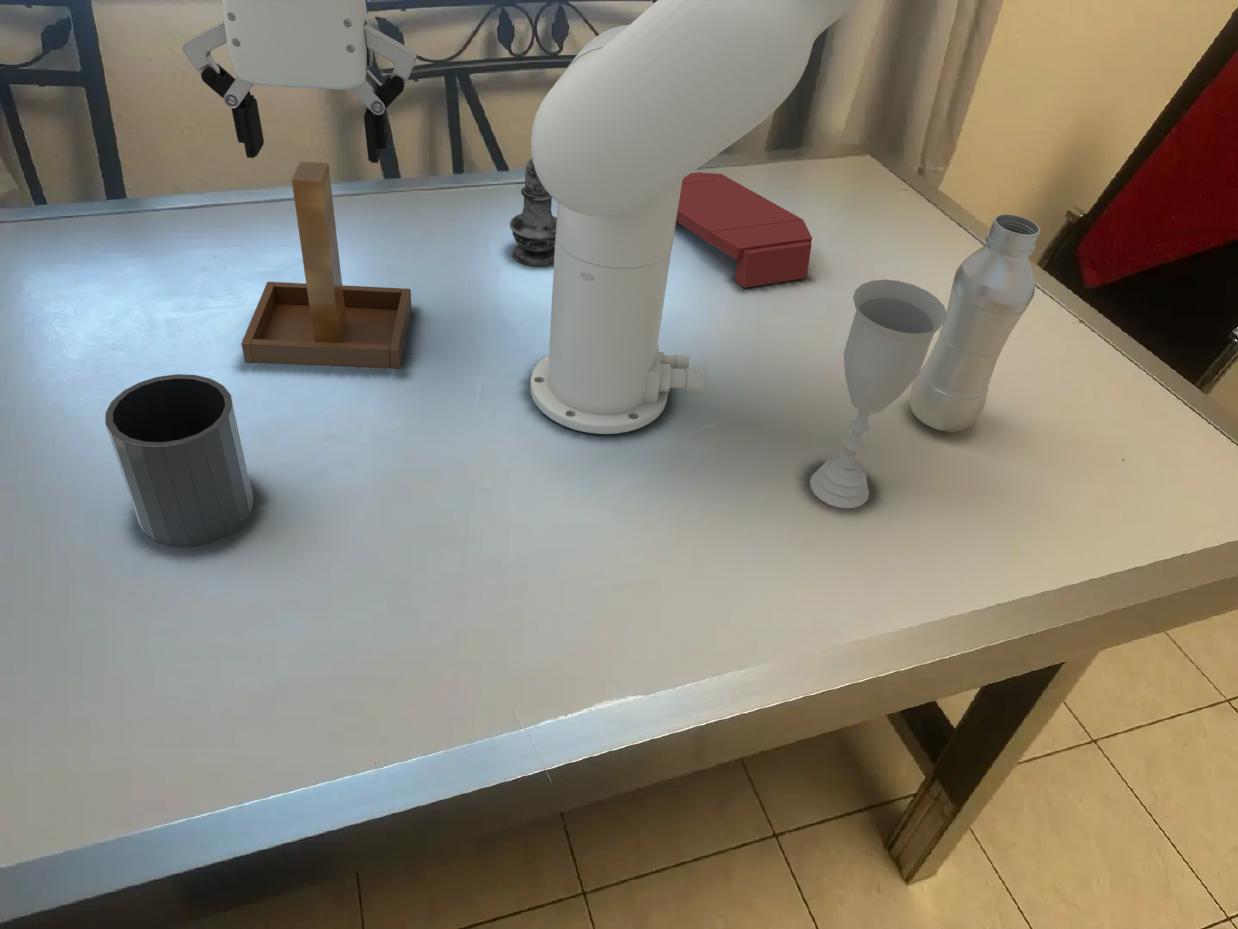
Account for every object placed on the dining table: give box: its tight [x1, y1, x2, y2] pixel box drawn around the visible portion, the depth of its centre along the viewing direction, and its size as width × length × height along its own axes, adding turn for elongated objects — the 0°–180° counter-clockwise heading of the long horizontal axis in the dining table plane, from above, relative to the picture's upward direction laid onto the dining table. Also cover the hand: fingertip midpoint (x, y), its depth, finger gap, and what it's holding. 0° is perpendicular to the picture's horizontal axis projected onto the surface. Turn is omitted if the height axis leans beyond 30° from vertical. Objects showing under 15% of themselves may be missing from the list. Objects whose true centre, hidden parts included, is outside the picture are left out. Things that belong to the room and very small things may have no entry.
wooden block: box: [291, 160, 346, 343], centre depth 85 cm, size 2×4×16 cm, turn 4°
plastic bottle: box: [908, 213, 1041, 433], centre depth 83 cm, size 6×7×20 cm
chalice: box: [809, 279, 947, 509], centre depth 75 cm, size 7×7×18 cm
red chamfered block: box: [676, 171, 813, 289], centre depth 114 cm, size 12×5×25 cm
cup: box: [104, 373, 255, 547], centre depth 69 cm, size 8×8×10 cm
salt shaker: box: [509, 157, 557, 267], centre depth 102 cm, size 6×6×12 cm
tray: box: [240, 281, 413, 370], centre depth 90 cm, size 14×11×3 cm
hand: (316, 153), depth 78 cm, fingers open, 9 cm apart
